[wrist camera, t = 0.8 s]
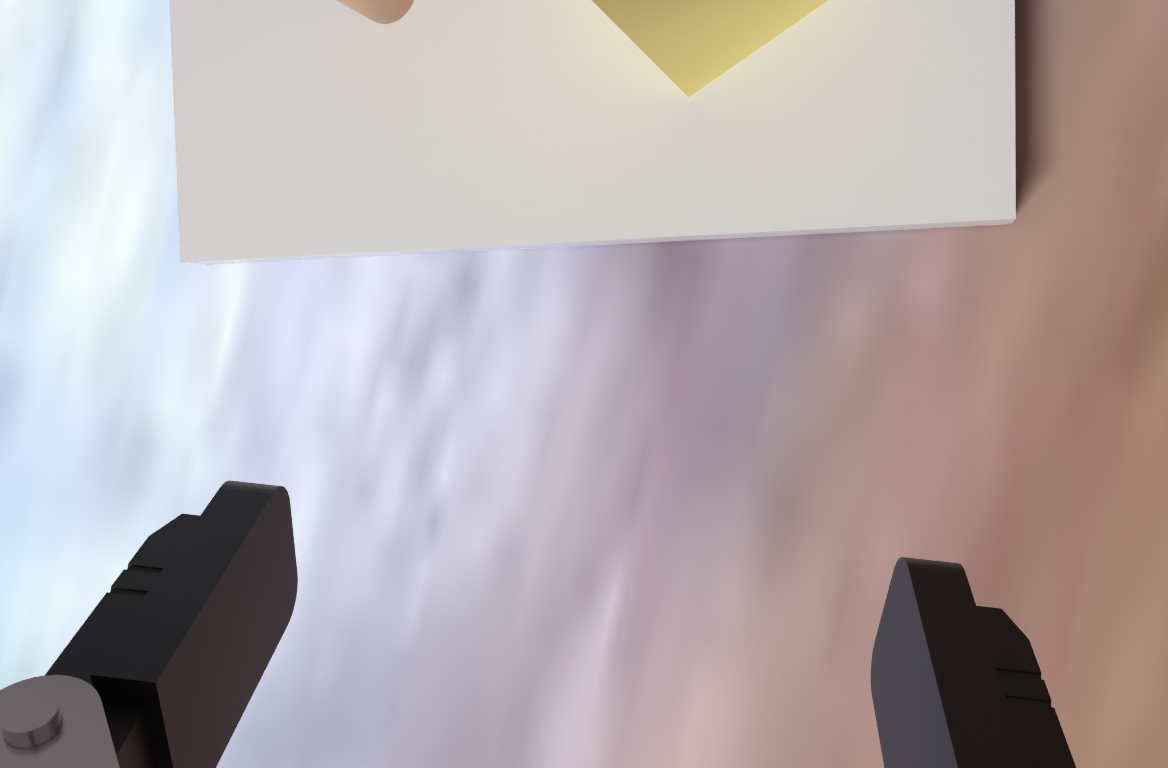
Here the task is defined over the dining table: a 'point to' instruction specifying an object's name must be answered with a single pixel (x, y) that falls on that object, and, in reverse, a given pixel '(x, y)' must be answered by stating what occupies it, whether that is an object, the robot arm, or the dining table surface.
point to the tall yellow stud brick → (703, 32)
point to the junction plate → (576, 127)
